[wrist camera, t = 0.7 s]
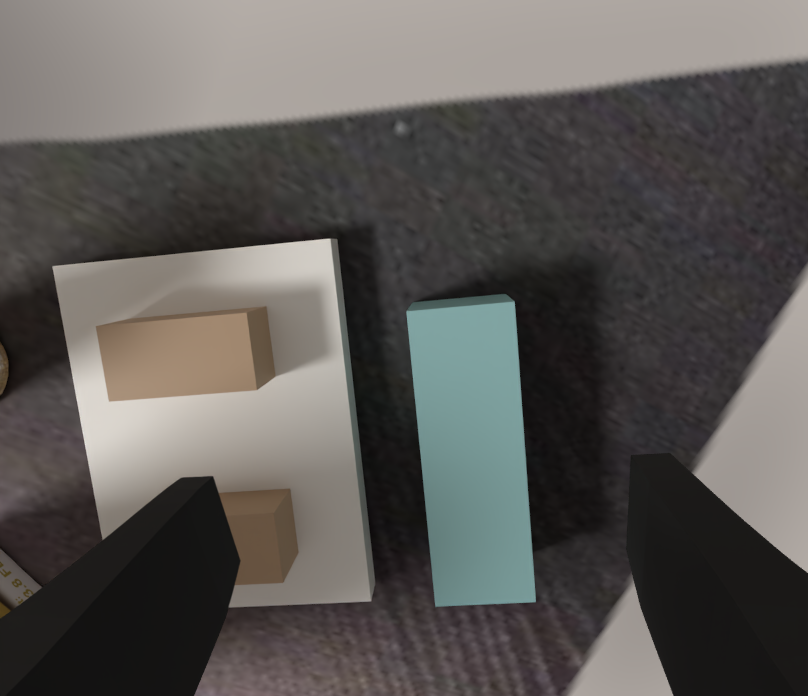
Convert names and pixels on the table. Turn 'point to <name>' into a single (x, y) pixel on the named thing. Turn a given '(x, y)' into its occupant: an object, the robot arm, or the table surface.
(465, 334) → the teal bar
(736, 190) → the table surface
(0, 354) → the sprinkles bottle
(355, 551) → the display stand
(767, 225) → the table surface
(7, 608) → the juice carton
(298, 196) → the table surface
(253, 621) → the table surface
